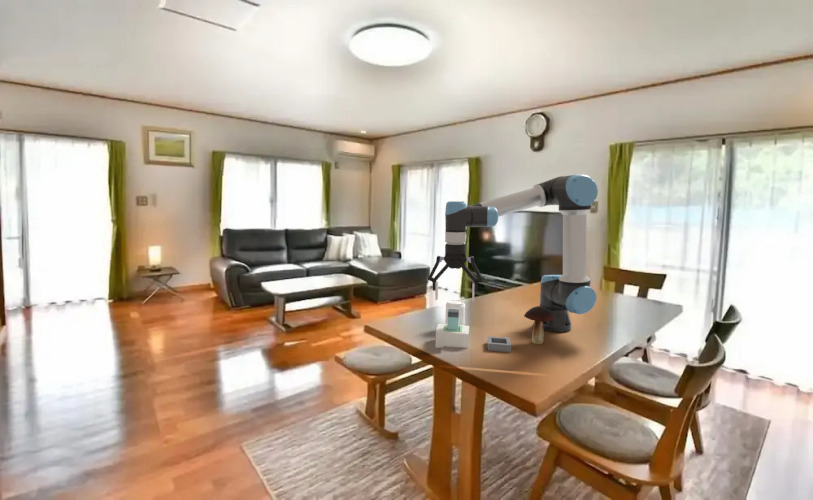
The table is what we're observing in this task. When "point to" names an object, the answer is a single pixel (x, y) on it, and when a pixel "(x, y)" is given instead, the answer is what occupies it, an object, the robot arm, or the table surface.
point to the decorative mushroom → (538, 322)
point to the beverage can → (459, 306)
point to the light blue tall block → (453, 319)
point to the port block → (452, 336)
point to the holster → (499, 344)
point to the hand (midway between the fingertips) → (454, 299)
